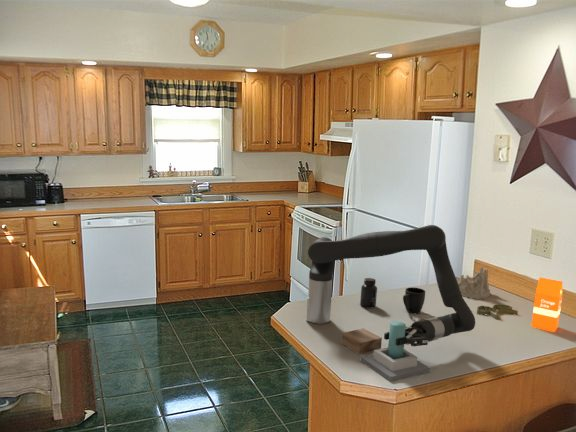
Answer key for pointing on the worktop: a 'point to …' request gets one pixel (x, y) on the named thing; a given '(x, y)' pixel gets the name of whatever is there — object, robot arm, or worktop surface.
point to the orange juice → (547, 304)
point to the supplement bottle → (368, 293)
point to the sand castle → (475, 285)
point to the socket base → (394, 365)
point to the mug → (414, 300)
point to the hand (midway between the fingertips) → (390, 339)
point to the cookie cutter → (500, 309)
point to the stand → (361, 341)
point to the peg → (394, 333)
